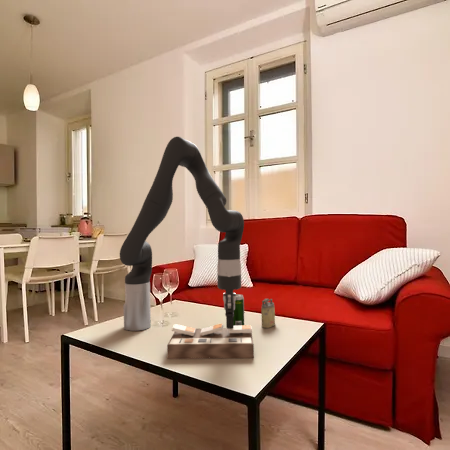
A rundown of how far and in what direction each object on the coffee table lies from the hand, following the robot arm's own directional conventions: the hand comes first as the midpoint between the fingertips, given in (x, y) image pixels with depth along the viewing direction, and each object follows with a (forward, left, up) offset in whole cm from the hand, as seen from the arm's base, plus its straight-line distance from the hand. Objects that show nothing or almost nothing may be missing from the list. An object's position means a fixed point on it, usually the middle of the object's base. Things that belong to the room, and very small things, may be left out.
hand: (229, 327), depth 97 cm
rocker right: (+3, 0, 0) cm, 3 cm away
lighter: (+14, +20, -6) cm, 25 cm away
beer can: (+2, +18, -6) cm, 19 cm away
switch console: (-6, -2, -6) cm, 8 cm away
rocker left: (-15, 0, 0) cm, 15 cm away
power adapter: (+5, +32, -7) cm, 33 cm away
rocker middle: (-6, 0, 0) cm, 6 cm away
